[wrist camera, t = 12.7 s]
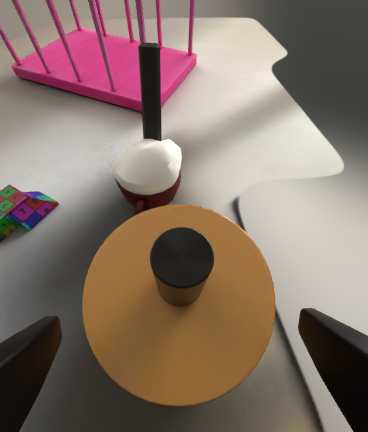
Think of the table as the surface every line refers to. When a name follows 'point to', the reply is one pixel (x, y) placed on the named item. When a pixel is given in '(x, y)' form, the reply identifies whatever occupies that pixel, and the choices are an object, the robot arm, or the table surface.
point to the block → (22, 209)
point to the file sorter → (101, 58)
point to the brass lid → (178, 305)
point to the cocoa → (149, 145)
